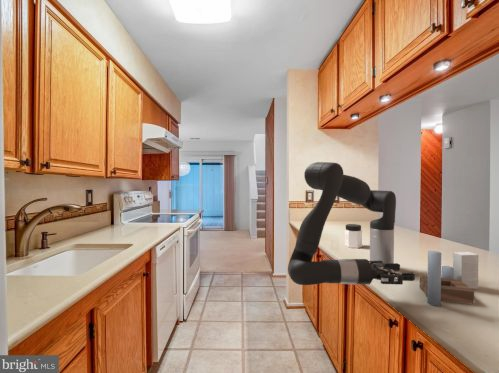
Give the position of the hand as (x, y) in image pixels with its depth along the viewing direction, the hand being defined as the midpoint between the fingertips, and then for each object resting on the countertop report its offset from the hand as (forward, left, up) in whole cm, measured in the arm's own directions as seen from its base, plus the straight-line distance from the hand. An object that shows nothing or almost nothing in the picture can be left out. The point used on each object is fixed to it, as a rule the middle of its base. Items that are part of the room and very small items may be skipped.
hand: (406, 271), depth 84 cm
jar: (-69, -11, -10) cm, 71 cm away
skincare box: (-20, +23, -10) cm, 32 cm away
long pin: (-2, +8, -10) cm, 13 cm away
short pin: (-18, +17, -10) cm, 27 cm away
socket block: (-10, +14, -10) cm, 20 cm away
